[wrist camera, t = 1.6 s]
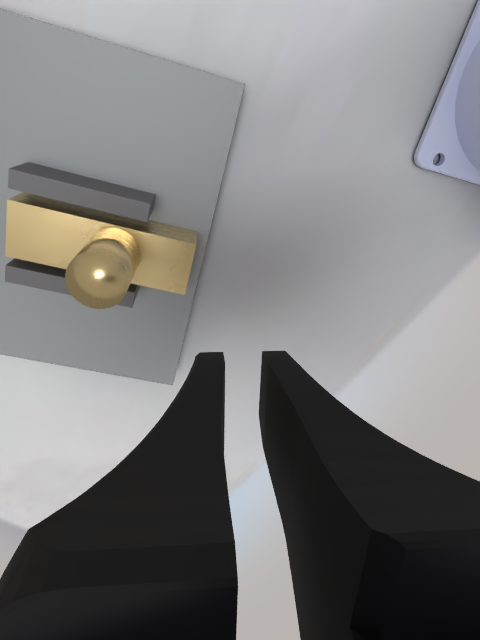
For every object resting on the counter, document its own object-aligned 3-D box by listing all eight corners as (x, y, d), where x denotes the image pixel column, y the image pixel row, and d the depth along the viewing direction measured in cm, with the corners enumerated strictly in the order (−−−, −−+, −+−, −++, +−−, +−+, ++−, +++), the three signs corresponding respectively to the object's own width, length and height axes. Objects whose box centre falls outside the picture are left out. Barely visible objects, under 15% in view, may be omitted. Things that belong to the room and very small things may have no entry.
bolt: (197, 231, 18) (194, 270, 14) (187, 278, 19) (180, 328, 15) (26, 190, 17) (-35, 219, 13) (24, 241, 18) (-35, 285, 14)
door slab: (241, 85, 17) (249, 81, 14) (174, 369, 23) (169, 408, 20) (-50, -5, 16) (-113, -31, 13) (-44, 328, 21) (-85, 365, 18)
